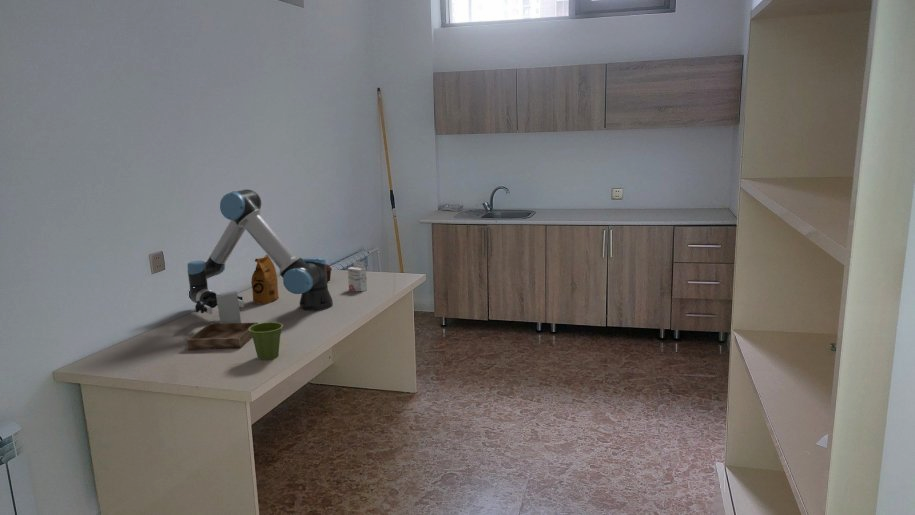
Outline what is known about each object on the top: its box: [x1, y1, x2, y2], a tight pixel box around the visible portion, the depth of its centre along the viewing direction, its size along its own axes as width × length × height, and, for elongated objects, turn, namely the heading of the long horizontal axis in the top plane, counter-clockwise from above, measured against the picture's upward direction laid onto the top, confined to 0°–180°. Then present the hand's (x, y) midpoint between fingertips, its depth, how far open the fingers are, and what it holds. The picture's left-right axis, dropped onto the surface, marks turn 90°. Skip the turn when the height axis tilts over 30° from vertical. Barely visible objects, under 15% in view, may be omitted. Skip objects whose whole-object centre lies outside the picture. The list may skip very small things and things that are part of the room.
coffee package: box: [251, 254, 279, 305], centre depth 294 cm, size 10×12×22 cm
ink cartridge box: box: [347, 260, 368, 292], centre depth 310 cm, size 9×5×15 cm, turn 58°
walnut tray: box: [186, 322, 259, 351], centre depth 238 cm, size 20×20×4 cm
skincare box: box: [215, 290, 242, 323], centre depth 255 cm, size 8×6×15 cm
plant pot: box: [248, 321, 284, 361], centre depth 218 cm, size 12×12×11 cm
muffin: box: [326, 263, 332, 283], centre depth 332 cm, size 12×11×10 cm
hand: (227, 307), depth 255 cm, fingers open, 13 cm apart
